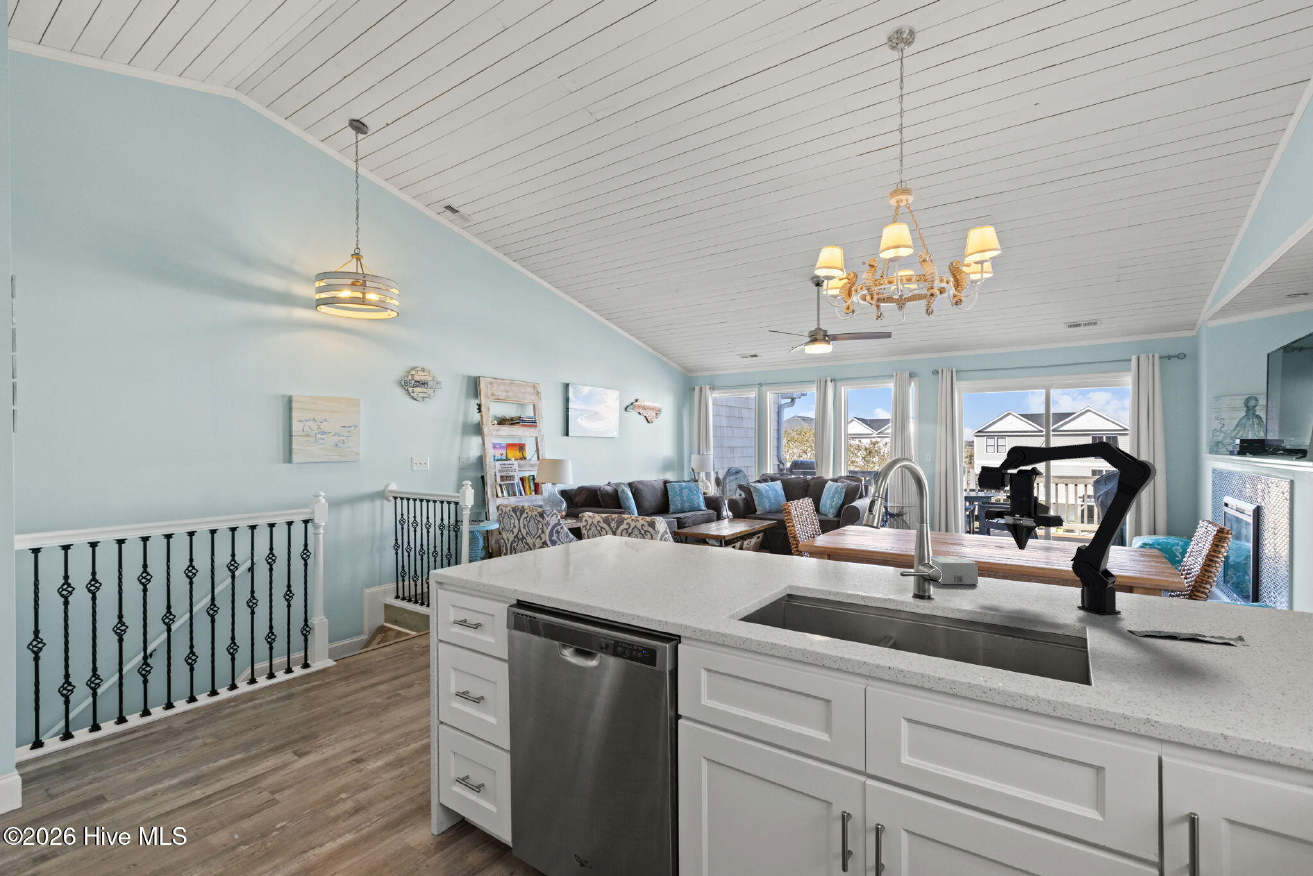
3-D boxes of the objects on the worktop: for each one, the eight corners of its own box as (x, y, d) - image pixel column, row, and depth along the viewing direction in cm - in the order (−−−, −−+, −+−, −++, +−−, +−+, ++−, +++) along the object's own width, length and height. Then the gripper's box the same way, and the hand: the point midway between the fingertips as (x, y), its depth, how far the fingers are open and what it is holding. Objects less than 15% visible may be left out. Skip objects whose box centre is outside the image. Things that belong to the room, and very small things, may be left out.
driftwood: (1133, 639, 128) (1133, 629, 128) (1122, 630, 135) (1122, 620, 135) (1258, 653, 121) (1258, 642, 121) (1240, 642, 127) (1240, 632, 127)
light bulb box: (978, 585, 175) (963, 577, 186) (978, 562, 175) (962, 556, 186) (940, 584, 176) (927, 577, 186) (940, 561, 176) (927, 555, 187)
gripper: (1076, 493, 156) (1076, 553, 156) (1009, 488, 173) (1009, 542, 173) (1048, 494, 151) (1048, 556, 151) (982, 489, 169) (982, 545, 168)
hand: (1021, 549), depth 161 cm, fingers closed
